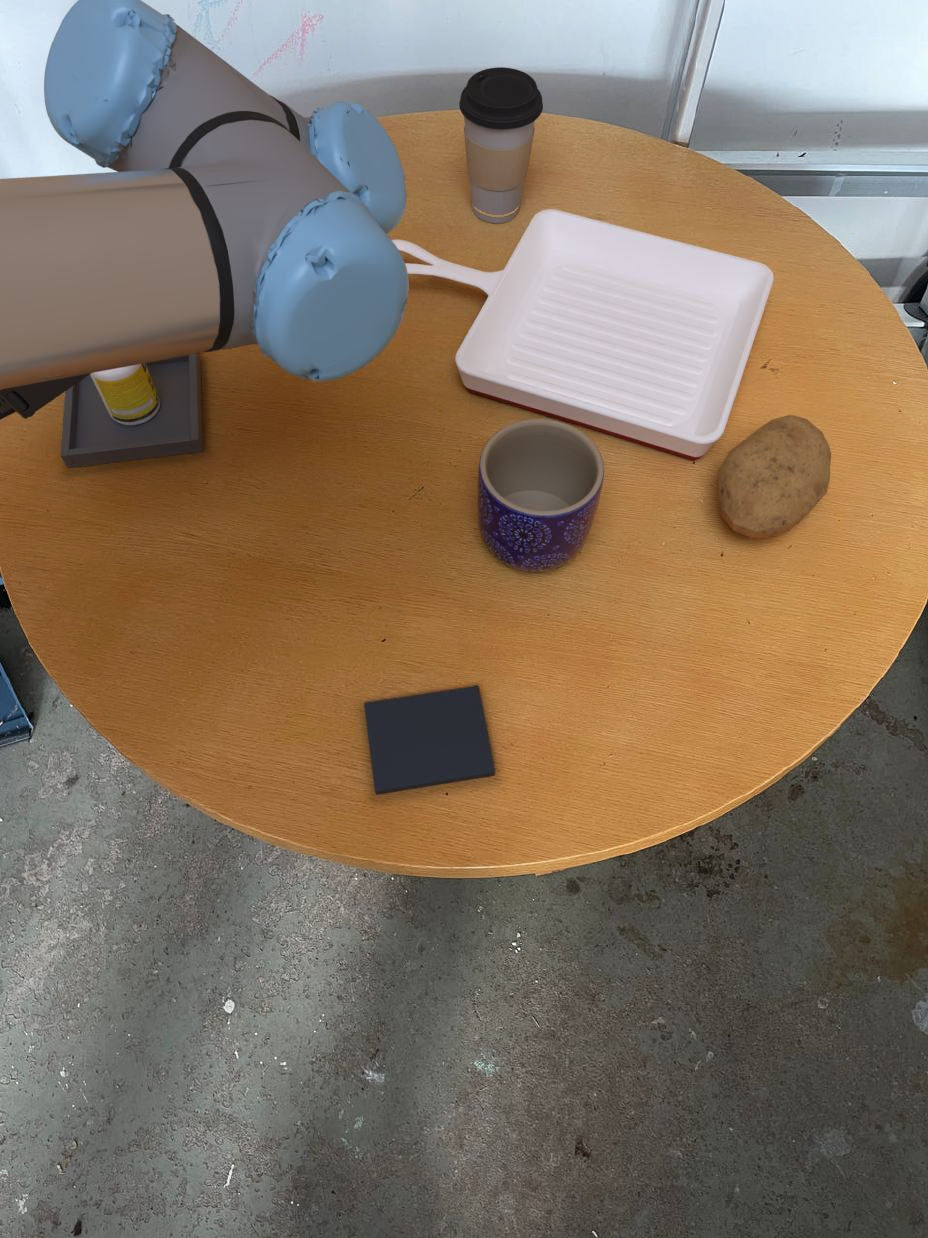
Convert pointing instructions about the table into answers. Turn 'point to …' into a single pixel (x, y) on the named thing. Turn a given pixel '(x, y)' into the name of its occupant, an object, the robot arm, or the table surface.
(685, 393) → the pan
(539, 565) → the planter
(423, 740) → the slate mat
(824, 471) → the potato
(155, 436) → the dark gray tray
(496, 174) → the coffee cup
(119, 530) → the table surface
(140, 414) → the supplement bottle
